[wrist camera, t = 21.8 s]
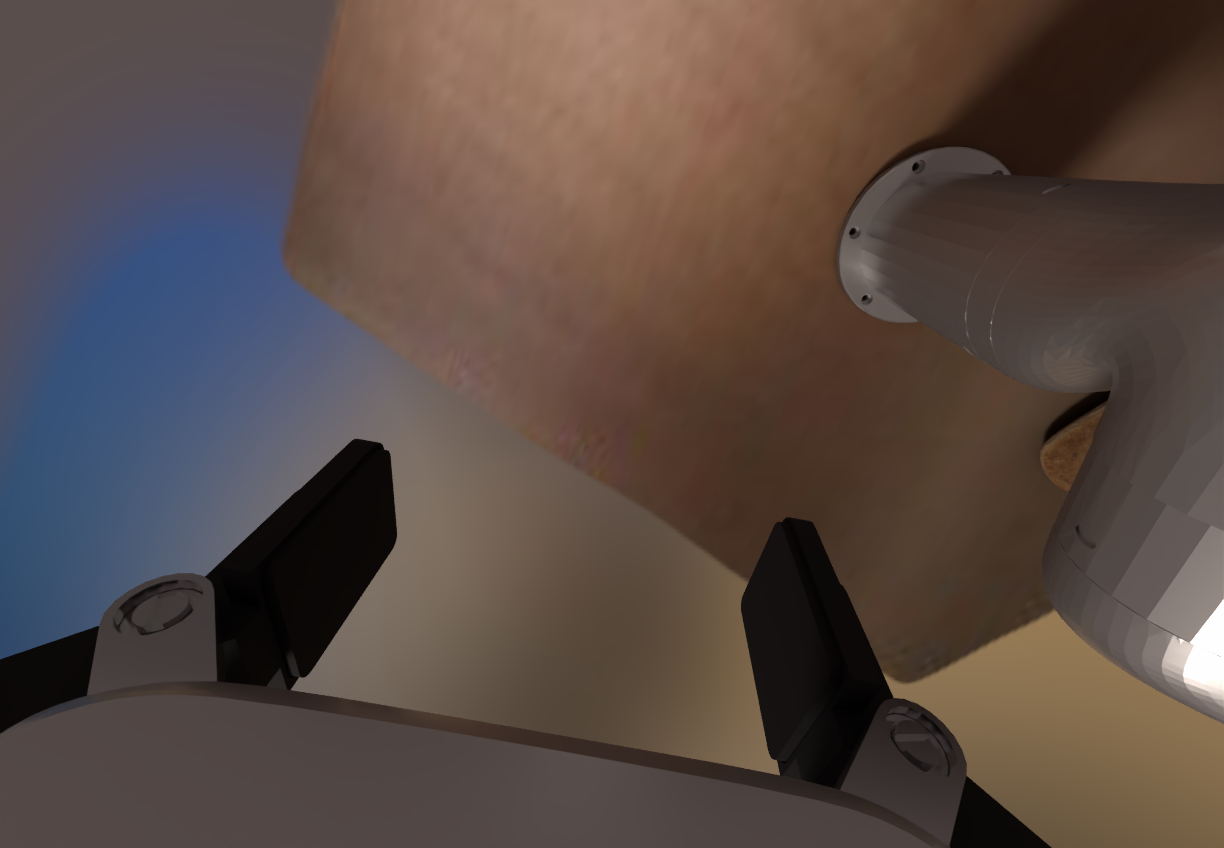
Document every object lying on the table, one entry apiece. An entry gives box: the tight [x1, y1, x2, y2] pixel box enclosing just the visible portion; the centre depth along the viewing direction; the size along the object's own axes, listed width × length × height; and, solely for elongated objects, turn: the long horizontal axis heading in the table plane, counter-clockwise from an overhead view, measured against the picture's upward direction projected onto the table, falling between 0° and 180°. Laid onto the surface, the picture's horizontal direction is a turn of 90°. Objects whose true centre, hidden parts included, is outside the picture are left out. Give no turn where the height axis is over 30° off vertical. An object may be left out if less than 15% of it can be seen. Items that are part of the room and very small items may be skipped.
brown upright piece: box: [1039, 400, 1108, 492], centre depth 36 cm, size 15×12×15 cm
